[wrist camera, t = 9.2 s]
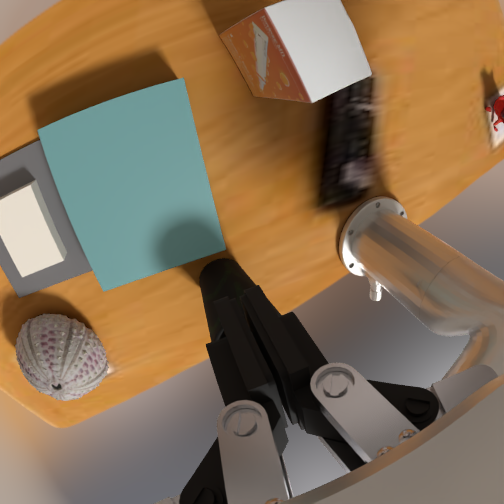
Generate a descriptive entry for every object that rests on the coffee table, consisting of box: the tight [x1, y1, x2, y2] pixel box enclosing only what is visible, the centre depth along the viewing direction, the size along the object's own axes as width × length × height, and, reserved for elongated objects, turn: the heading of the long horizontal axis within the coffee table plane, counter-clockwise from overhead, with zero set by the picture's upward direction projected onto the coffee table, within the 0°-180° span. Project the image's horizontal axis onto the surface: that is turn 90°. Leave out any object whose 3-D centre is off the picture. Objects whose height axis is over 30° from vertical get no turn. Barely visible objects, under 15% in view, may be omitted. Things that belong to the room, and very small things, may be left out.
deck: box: [38, 78, 226, 291], centre depth 30 cm, size 18×14×4 cm
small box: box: [219, 0, 372, 103], centre depth 24 cm, size 8×6×13 cm
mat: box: [0, 140, 92, 298], centre depth 29 cm, size 16×12×1 cm
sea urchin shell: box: [15, 314, 109, 401], centre depth 34 cm, size 13×14×8 cm
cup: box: [200, 258, 282, 342], centre depth 36 cm, size 8×8×12 cm
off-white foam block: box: [0, 180, 67, 277], centre depth 29 cm, size 9×6×2 cm, turn 11°
